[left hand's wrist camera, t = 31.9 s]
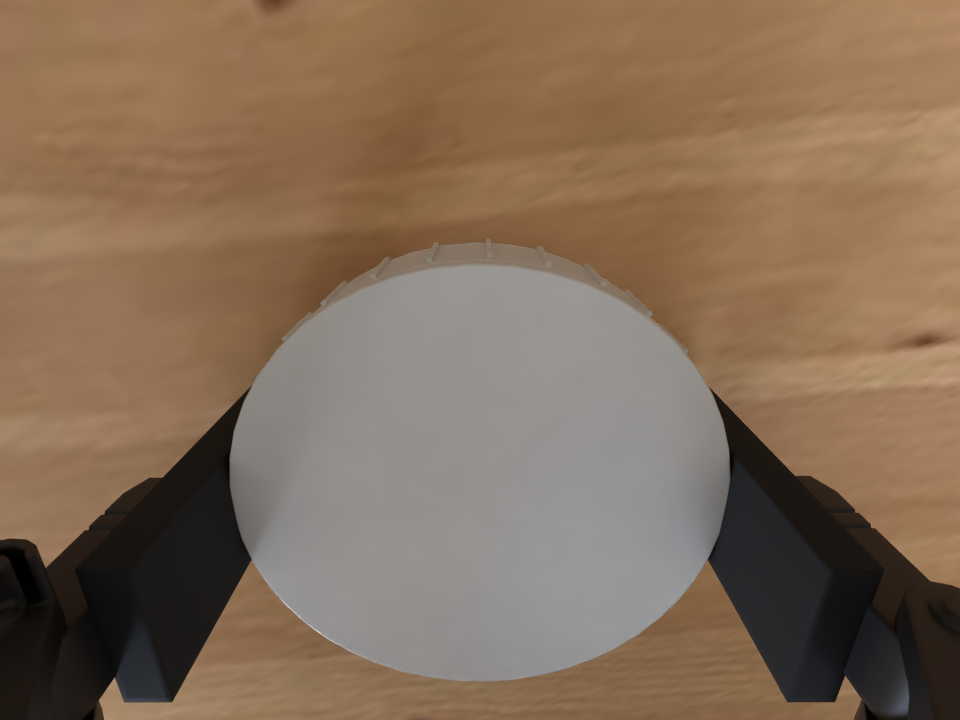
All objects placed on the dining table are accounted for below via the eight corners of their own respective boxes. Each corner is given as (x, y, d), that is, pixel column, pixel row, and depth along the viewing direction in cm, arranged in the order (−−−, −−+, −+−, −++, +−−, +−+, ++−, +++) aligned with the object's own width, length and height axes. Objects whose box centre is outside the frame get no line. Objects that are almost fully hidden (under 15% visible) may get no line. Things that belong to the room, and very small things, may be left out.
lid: (189, 314, 11) (124, 350, 9) (656, 176, 10) (702, 182, 8) (358, 639, 15) (338, 718, 13) (715, 562, 14) (756, 634, 12)
